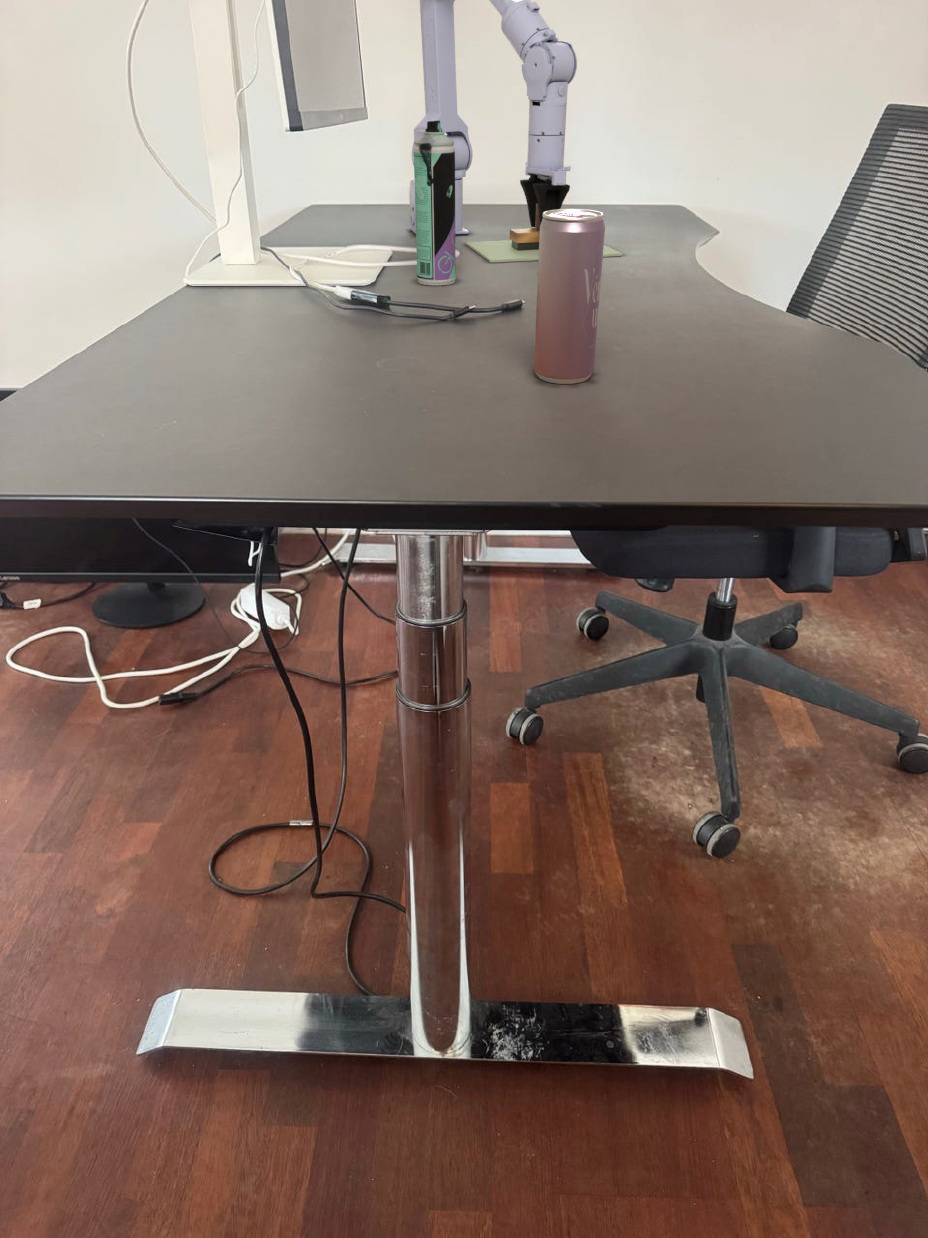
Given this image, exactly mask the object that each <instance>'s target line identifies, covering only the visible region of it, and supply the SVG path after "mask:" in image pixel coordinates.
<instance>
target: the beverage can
mask: <svg viewBox="0 0 928 1238" xmlns="http://www.w3.org/2000/svg"><path fill="white" fill-rule="evenodd" d="M542 216H543V219H542V222H541V225H540V238H539V260H537V262H538V263H537V284H536V285H537V287H536V310H535V331H534V332H535V333H534V355H533V356H534V357H533V370H534V373H535V374H536V376H537V378H538V379H540V380H541V381H544V382H546V383H552V384H557V385H574V384H579V383H580V384H581V383H583V382H585V381H587V380H589V379H590V377H591V376H592V374H593V373H594V370H595V359H596V347H597V346H596V345H597V335H598V323H599V322H598V321H599V309H600V297H601V286H602V285H601V284H602V274H603V273H602V272H603V259H604V257H603V249H604V245H605V236H606V234H605V233H606V225H605V221H604V218H605V213H603V212H602V211H599V210H593V209H584V208H561V209H557V210H549V211H545V212H544V213H543V215H542Z"/></svg>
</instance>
